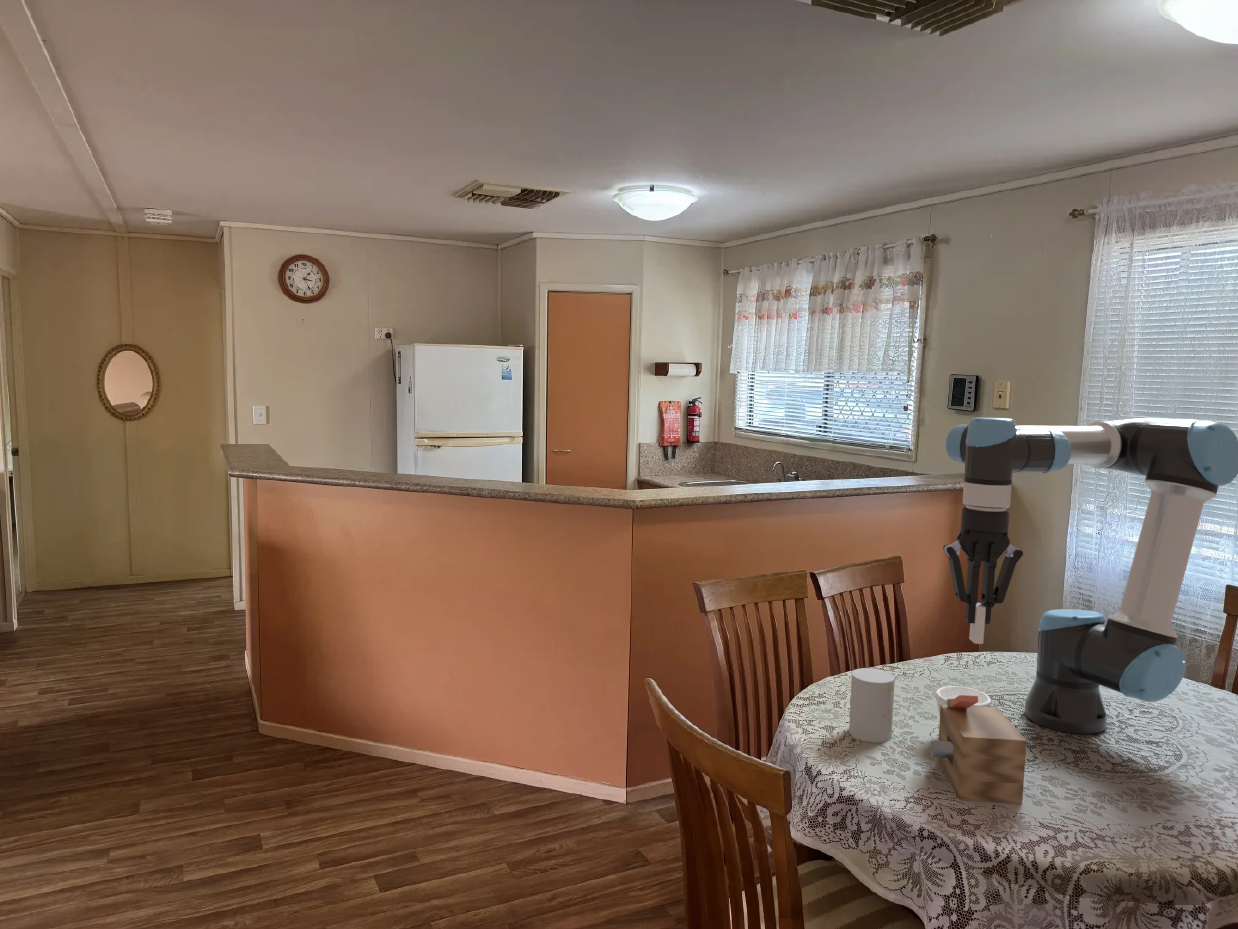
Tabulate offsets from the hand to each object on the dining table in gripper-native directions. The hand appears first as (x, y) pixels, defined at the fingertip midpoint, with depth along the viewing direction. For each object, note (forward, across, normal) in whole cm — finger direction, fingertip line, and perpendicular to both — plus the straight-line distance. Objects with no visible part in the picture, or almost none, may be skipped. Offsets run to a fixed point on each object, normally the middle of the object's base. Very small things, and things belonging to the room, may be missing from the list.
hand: (976, 641), depth 145 cm
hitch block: (+25, -2, +1) cm, 25 cm away
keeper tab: (+12, +1, -1) cm, 12 cm away
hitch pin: (+22, -1, +1) cm, 22 cm away
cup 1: (+25, +13, -17) cm, 33 cm away
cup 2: (+25, -4, -16) cm, 30 cm away
